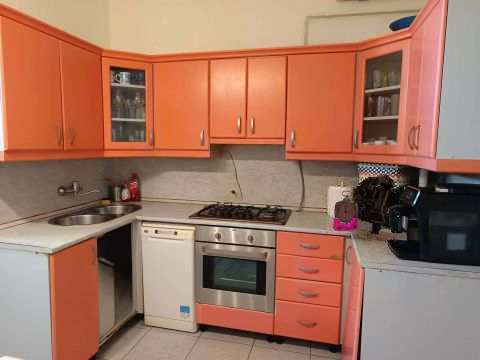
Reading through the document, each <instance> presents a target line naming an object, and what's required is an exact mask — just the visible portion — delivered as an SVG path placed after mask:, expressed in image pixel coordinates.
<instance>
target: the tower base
mask: <svg viewBox="0 0 480 360" xmlns="http://www.w3.org/2000/svg"><path fill="white" fill-rule="evenodd" d="M397 238H398V237H397V235H396V234H395V236H394V237H392V238H388V237H382V236H379V234H377V235H376V236H375V241H380V242H385V243H386V242H387V240H391V239H392V240H393V239H397ZM397 240H398V239H397ZM387 243H388V242H387Z"/></svg>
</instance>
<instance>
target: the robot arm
mask: <svg viewBox="0 0 480 360" xmlns="http://www.w3.org/2000/svg"><path fill="white" fill-rule="evenodd" d="M359 185H360V188H362V190H363V191H364V194H363V195H361V194H360V193H357V194H356V196H355V195H354V196H353V198H352V201H353V203H354V204H356V203H357V204H360V206H358V213H360V222H364V220H365V219H366V218H367V217H368V223H370V224H371V230H369V231H370V234H372V233H373V234H377V235H378V234H379V231H380V230H382V229H383V228H382V227H383V226H382V225H385V224H386V219H385V215H384V212H383V211H384V208H385V204H386V203H387V199H388V196H389V194H390V193H392V192H393V191H394V189H395V188H396V187H395V186H396V184H395V181H394V179H393V178H391V177H390V175H389V174H387V173H385V174H380V175H376V176H367V177H365V178H364V179H363V180H361V182H360V183H359ZM376 187H380V194H379V196H378V198H377V201H376V200H375V198H376V197H375V195H376V193H377V192H378V191H377V188H376Z"/></svg>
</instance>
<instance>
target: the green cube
mask: <svg viewBox="0 0 480 360" xmlns="http://www.w3.org/2000/svg"><path fill="white" fill-rule="evenodd" d="M370 231H371V230H368V229H361V230H359V234H358V235H359V237H358V238H359V239H361V240H369V239H370V236H371V235H370V234H371V232H370Z"/></svg>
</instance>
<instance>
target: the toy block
mask: <svg viewBox="0 0 480 360" xmlns="http://www.w3.org/2000/svg"><path fill="white" fill-rule="evenodd" d="M358 220H359V219H358V218H352V221H351V222H350V223H348V224H346V223H345V224H343V223H342V222H340V220H339V219H338V218H335V217H333V220H332V221H333V223H332V224H333V225H332V227H333V230H334V231H336V232H352V231H358Z"/></svg>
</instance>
